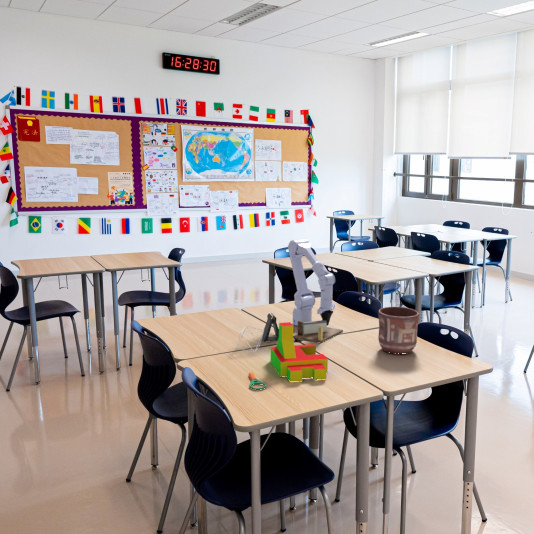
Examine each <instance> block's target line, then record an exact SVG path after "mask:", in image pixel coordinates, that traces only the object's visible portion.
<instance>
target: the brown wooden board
mask: <svg viewBox="0 0 534 534" xmlns="http://www.w3.org/2000/svg"><path fill="white" fill-rule="evenodd" d="M341 332H342V333H343V332H344V330H343V329H340V328H334V327H328V326H327V327H326V332H323V335H322V341H320V340H318V333H310V334H303V321H298V326H297V333H296V334H293V339H297V338H300V339H299V340H302V339H305V340H304V341H307V340H310V341H309V342H312V341H314V342H313V343H317V342H320V343H319V344H322V343H324V342H326V341H328V340H330V339H332V338H333V336H334V337H336V336H338V335H340V334H342V333H341ZM339 333H340V334H339ZM335 335H336V336H335ZM331 337H332V338H331ZM329 338H330V339H329ZM327 339H328V340H327ZM325 340H326V341H325ZM323 341H324V342H323Z"/></svg>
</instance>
